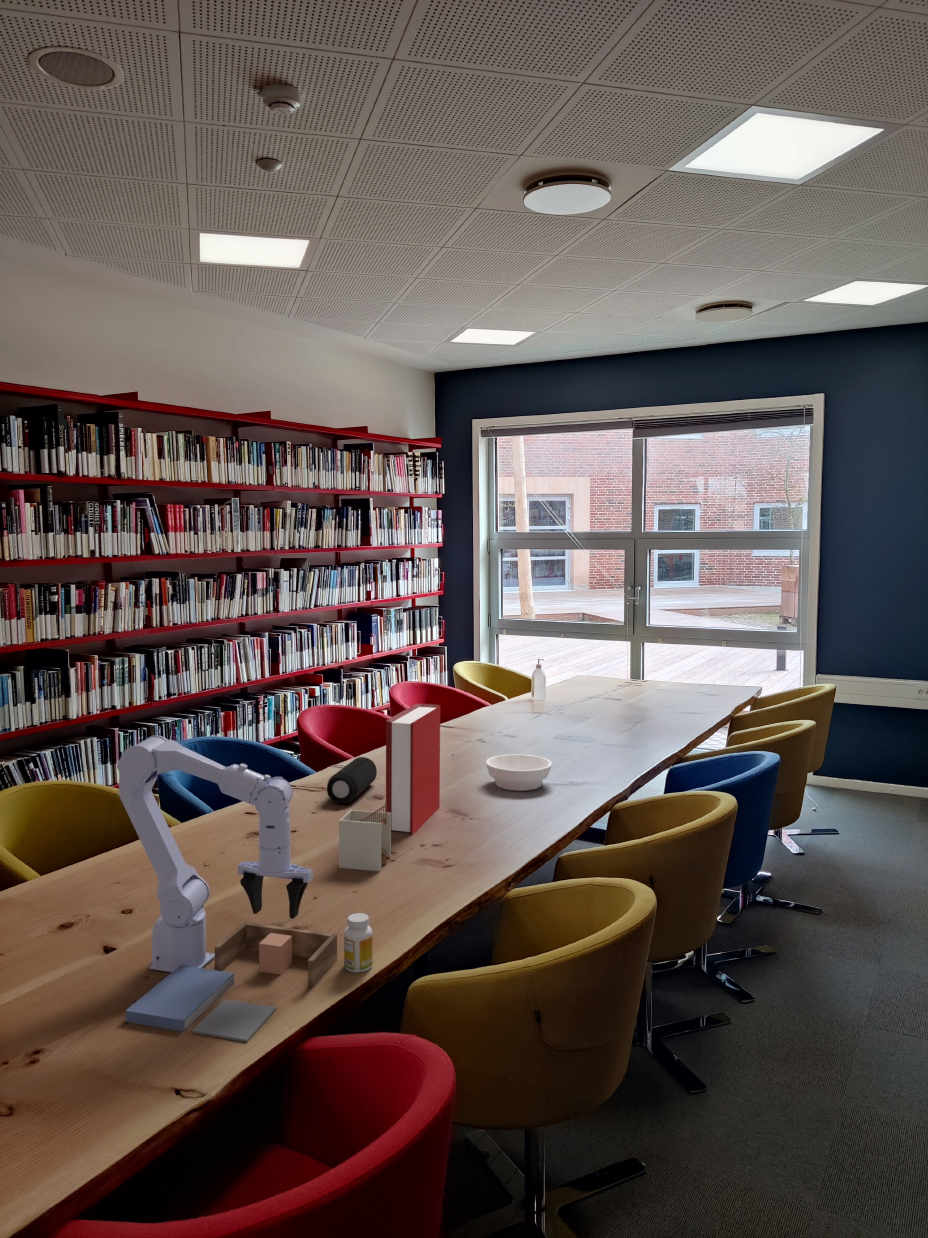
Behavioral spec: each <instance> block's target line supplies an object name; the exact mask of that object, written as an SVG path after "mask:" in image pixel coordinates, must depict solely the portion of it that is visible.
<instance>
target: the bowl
mask: <svg viewBox="0 0 928 1238" xmlns="http://www.w3.org/2000/svg"><path fill="white" fill-rule="evenodd" d="M552 765H553V763H552V761H551V760H550V759H548V758H545V757H542V756H538V755H532V754H521V753H519V754H518V753H514V754H513V753H512V754H511V753H510V754H499V755H495V756H492V757H489V758H487V759H486V760H485V766H486V768H487V771H488V774H489V776H490V777H491V778H493V779H494V782H495V785H496V786H497V787H499V788H501V789H505V790H508V791H519V792H521V791H522V792H523V791H532V790H536V789H538V788H540V787H541V786H542V783H543V780H545V779H547V778H548V776H549V774H550V770H551V768H552Z"/></svg>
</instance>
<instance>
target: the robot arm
mask: <svg viewBox="0 0 928 1238" xmlns="http://www.w3.org/2000/svg"><path fill="white" fill-rule="evenodd" d="M116 768H117V770H118V772H119V773H118V774H119V778H118V781H119V782H118V796H119V798H120V801H121V803H122V805H123V806H124V807H123V808H124V809H125V811H126V813H127V815H128V817H129V819H130V822H131V824H132V825H133V827H134V830H135V831H136V834H137V837H138V839H139V840H140V842H141V845H142V847H143V848H144V850H145V853H146V855H147V857H148V859H149V861H150V863H151V865H152V868H153V870H154V872H155V875H156V877H157V879H158V883H157V890H156V896H157V898H158V900H159V912H160V916H159V917H158V918H157V919H156V921H155V923H154V925H153V928H152V932H151V963H152V964H151V965H150V966H149V969H150V970H156V971H161V972H168V973H172V972H173V971H174V970H176V969H177V968H178V967H179V966H180V965H183V966H189V967H196V968H203V969H204V967H205V966H206V965H207V964H208V963H209V962H211V961H213V959H215V952H214V953H213V952H207V931H206V930H207V926H206V923H207V921H206V918H207V917H206V910H205V904H206V903H207V901H208V900H209V898H210V895H211V890H210V886H209V884H208V882H207V881H206V880H205V879H203V878H202V877H201V876H200V875H199V874H198V872H197V870H196V868H195V867H193V866H191V865H189V864H187V863H186V861H185V859H184V857H183V855H182V852H181V850H180V849H179V846H178V844H177V842H176V840H175V838H174V835H173V834H172V832H171V830H170V827H169V825H168V823H167V821H166V818H165V817H164V815H163V813H162V810H161V808H160V806H159V804H158V802H157V800H156V797H155V796H154V793H153V791H152V790H153V788H154V785H155V783H156V780H157V779H158V777H159V775H160V774H165V773H168V772H173V771H181V772H183V773H186V774H189V775H192V776H195V777H198V778H200V779H204V780H207V781H209V782H212V783H214V784H217V785H218V788H219V791H220V792H221V793H222V794H224V795H227V796H229V797H232V798H235V799H238V801H241V802H244V803H246V804H249V805H252V806H254V807H255V810H256V811H257V812H258V814H259V817H258V818H259V821H258V832H259V833H258V835H259V836H258V837H259V840H258V843H259V844H258V846H259V847H258V848H259V852H258V854H259V858H258V859H259V861H244V860H243V861H241V862H240V863H239V864H238V865H237V874H238V875H239V876H242V878H241V879H240V880H239V883H240V886H242V888H243V889H244V892H245V893H246V895H247V897H248V901H249V903H250V906H251V911H252V914H254V915H257V914H258V913H259V912H260V911H262V908H263V895H262V894H263V884H264V877H267V878H278V879H286V880H291V881H289V883H288V884H286V885H285V887H286V891H287V895H288V903H289V904H288V906H289V907H288V908H289V909H288V911H289V914H288V915H289V919H292V920H294V919H295V918H296V917H298V915H299V911H300V906H301V905H300V904H301V901H302V899H303V896H304V892H305V890H306V889H307V886H308V885H309V883H310V882H311V881H312V880H313V878H314V877H313V876H314V875H313V869H312V868H309V867H308V868H306V867H303V866H301V865H297V864H294V863H291V819H290V816H291V815H290V814H291V813H290V805H289V804H290V803H291V801H292V799H293V797H294V790H293V786H292V784H291V783H290V782H289V781H288V780H286V779H284V777H282V776H274V777H272V776H271V775H269V774H264V775H263V774H261V773H259V772H256V771H253V770H252V769H250V768H249V767H248V765H247V764H246V763H243V762H242V763H240V764H236V763H233V764H231V765H229V766H225V765H222V764H221V763H218V762H216V761H215V760H212V759H210V758H207V757H206V756H203V755H201V754H200V753H198V752H195V751H194V750H191V749H189V748H187V747H185V746H183V745H181V744H180V743H179V742H177V741H176V740H173V739H167V738H166V737H165V736H162V735H158V734H157V735H151V736H148V737H147V738H146V739H145V740H143V741H141V742H139V743H137V744H135V745H131V746H130V747H128V748H126V749H125V750H124V751H123V753H122V754H121V756H120V758H119V760H118V762H117V763H116ZM248 768H249V769H248Z"/></svg>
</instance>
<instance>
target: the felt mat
mask: <svg viewBox="0 0 928 1238" xmlns="http://www.w3.org/2000/svg"><path fill="white" fill-rule="evenodd" d="M276 1011H277V1007H275V1006H269V1005H263V1004H258V1003H257V1004H256V1003H252V1002H251V1003H250V1002H243V1001H238V1000H232V999H226V998H225V999H223V1000H222V1001H221V1002H219V1004H218V1005H217V1006H216V1007H215V1008H214V1009H212V1011H210V1013H209V1014H208V1015H206V1016H205V1018H203V1019H202V1020H201V1021H200V1022H199V1023H198V1024H197V1025H196V1026H195V1027H194V1028H193V1029H192V1030H191V1031H192V1034H198V1035H203V1036H207V1037H208V1036H209V1037H212V1038H213V1037H216V1038H221V1039H226V1040H229V1041H231V1040H232V1041H237V1042H243V1043H248V1042H249V1041H250V1040H251V1039H252V1038H253V1037H254V1035H255V1034H256V1033H257V1032H258V1031H259V1030H260V1029H261V1028H262V1026H263V1025H264V1024H265V1023H266V1022H267V1021H268V1020H269V1018H270V1017H271V1016H272V1015H273V1014H274V1013H275V1012H276Z"/></svg>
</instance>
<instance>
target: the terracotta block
mask: <svg viewBox="0 0 928 1238" xmlns="http://www.w3.org/2000/svg"><path fill="white" fill-rule="evenodd" d="M258 953H259V954H258V955H259V956H258V957H259V958H258V959H259V960H258V961H259V963H258V965H259V972H261V973H269V974H274V975H275V974H276V975H282V974H284V973H285V972H286V970H287V969H288V968H289V967H290V966H291V965H292V964H293V955H292V936H289V935H282V934H275V933H270V934H269V935H268V936H267V937H266V938H265V939H263V940H262V941H261V942H260V943H259V951H258Z"/></svg>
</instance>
